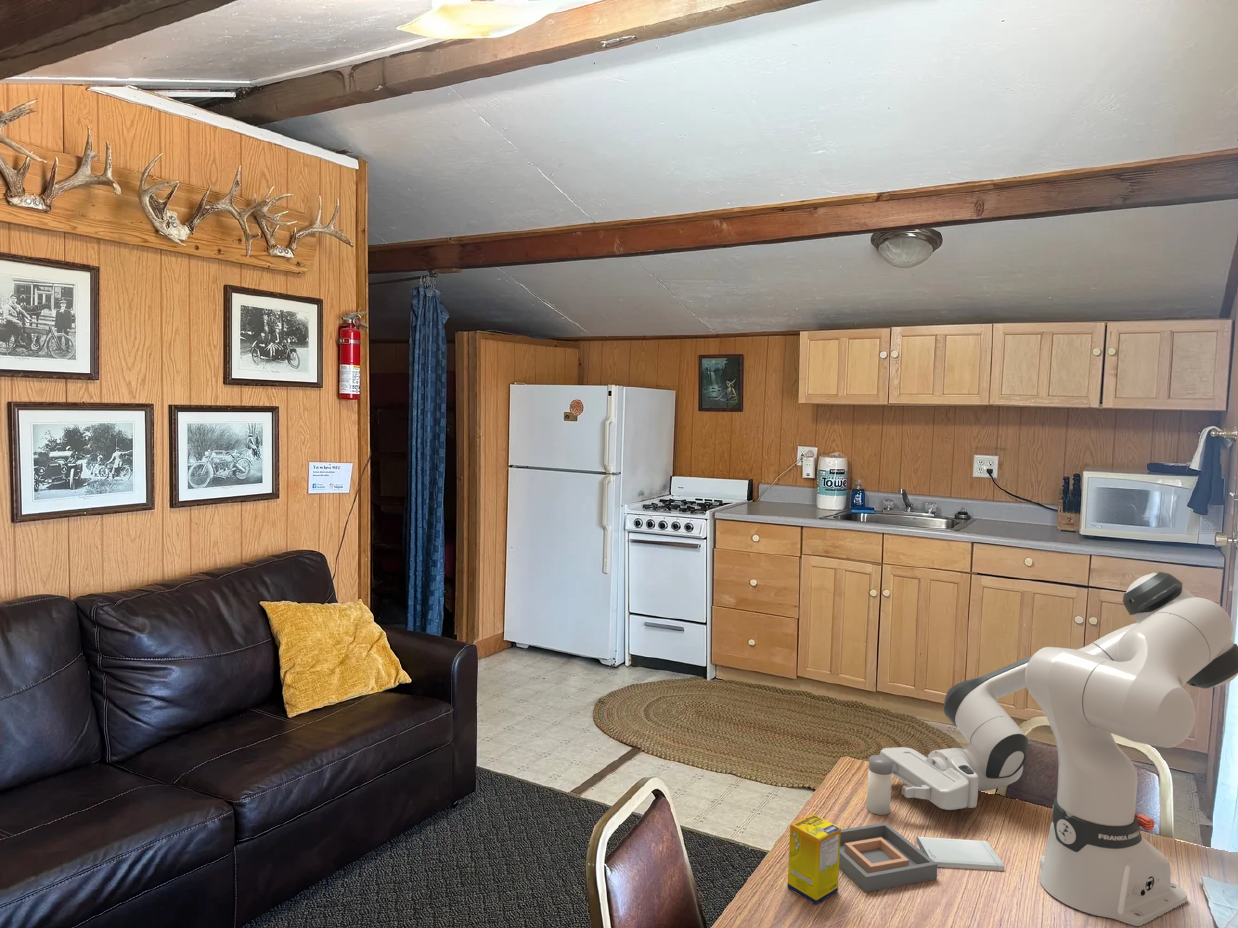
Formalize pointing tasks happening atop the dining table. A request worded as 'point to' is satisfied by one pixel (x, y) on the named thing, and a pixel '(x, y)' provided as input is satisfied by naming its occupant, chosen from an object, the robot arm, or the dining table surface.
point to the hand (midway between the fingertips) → (888, 780)
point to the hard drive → (960, 853)
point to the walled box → (882, 858)
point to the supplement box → (814, 858)
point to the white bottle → (879, 784)
